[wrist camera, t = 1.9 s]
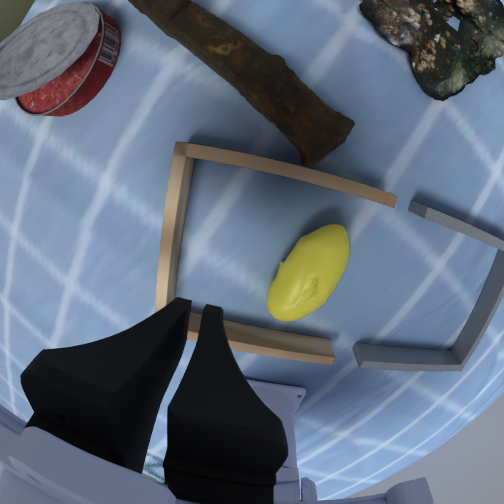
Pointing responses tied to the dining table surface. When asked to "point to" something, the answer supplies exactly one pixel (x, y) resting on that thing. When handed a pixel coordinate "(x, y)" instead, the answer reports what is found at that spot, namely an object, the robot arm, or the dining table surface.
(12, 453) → the robot arm
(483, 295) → the grey frame
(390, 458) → the dining table surface
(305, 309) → the lemon
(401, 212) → the dining table surface
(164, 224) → the oak frame
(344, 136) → the hand tool
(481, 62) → the decorative rock
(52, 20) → the canned food
